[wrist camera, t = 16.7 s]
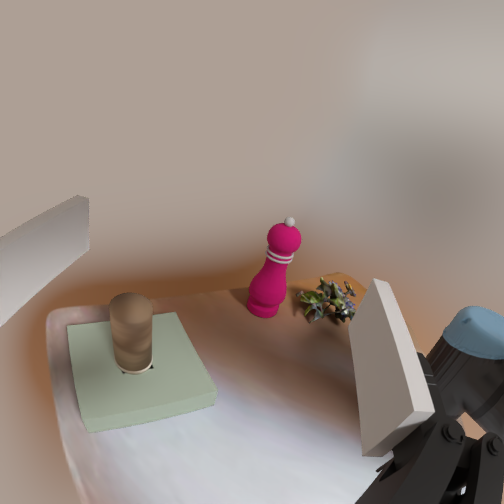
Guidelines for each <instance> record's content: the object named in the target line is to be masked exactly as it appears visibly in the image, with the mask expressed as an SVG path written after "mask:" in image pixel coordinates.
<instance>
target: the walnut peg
mask: <svg viewBox="0 0 504 504" xmlns="http://www.w3.org/2000/svg"><path fill="white" fill-rule="evenodd" d="M109 314H110V324H111V333H112V342H113V349H114V361H115V364H116V366H117V367H118V368H119V369H120V370H121V371H123V372H124V373H127V374H132V375H137V374H142V373H144V372H146V371H147V370H149V369H150V367H151V366H152V363H153V355H152V318H153V306H152V303H151V301H150V300H149V299H148V298H146V297H145V296H143V295H140V294H137V293H123V294H120V295H117V296H116V297H114V298H113V299H112V300H111V302H110V304H109Z"/></svg>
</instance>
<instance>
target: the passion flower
mask: <svg viewBox="0 0 504 504" xmlns="http://www.w3.org/2000/svg"><path fill="white" fill-rule="evenodd" d="M331 281H332V283H331V282H330V281H329V284H327V283H326V282H325V281H324V280H323V278H322V277H321V278H320V282H321V285H319V286H318V287H317V289H318V290H321V291H323V292H324V294H323V297H322V293H320V294H317V293H316V292H314V291H310V292H307V293H305V294H303V293H304V292H303V291H300V292H298V293H297V294H296V296H297V297H298V296H299V294H301V295H302V296H301V302H305V303H309V304H311V305H310V306H309V307H308V308H307V309H306V310H305V313H304V316H306V314H307V313H308V312H309V311H310V310H311V309H316V313H315V315H314V318H313V320H312V321H310V322H309V323H311V322H313V321H315V320H317V319H319V318H324V316H326V315H330V314H334V313H335V316H336V318H339V319H340V320H341V321H342V322H343V323H344V322H345V318H346V317H349V318H350V320H352V318H353V317H354V315H355V312H356V310H355V309H354V308H353V307H352V305H355V304H353V303H352V302H351V301H350V300H348V299H349V298H347V297H346V295H347V294H349V293H350V295H351V296H354V297H356V294H355V292H354V290H353V288H352V287H351V286H350V285H349V284H348V283H347V282H346V281H345V282H344V283H345V286H346V289H347V290H348V291H347V292H346V293H343V292H342V289H340V287H338V286H337V283H336V284H335V283H334V282H333V280H331ZM328 296H330V299H328ZM324 302H329V303H330V305H333V306H335V307H336V310H335V312H332V313H328V314H324V311H325V310H326V309H327V308H328V307H329V306H330V305H329V306H328V307H326V308H325V309H323V308H322V304H323V303H324ZM316 306H319V307H320V308H321V312H320V311H319V310H318V309H317V307H316Z"/></svg>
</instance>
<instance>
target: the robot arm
mask: <svg viewBox="0 0 504 504" xmlns="http://www.w3.org/2000/svg"><path fill="white" fill-rule="evenodd" d="M89 249H90V247H89V198H86V197H82V196H78V195H77V196H75V197H73V198H71V199H69V200H67V201H65V202H63V203H61V204H59V205H57V206H55V207H53V208H51V209H49V210H47V211H46V212H44V213H42V214H40V215H38V216H36V217H35V218H33V219H31V220H29V221H28V222H26V223H24V224H22V225H21V226H19V227H17V228H15V229H14V230H12V231H10V232H9V233H7V234H6V235H4V236H2V237H1V238H0V327H1V326H2V325H3V324H5V322H6V321H8V320H9V319H10V318H11V317H12V316H13V315H14V314H15V313H16V312H17V311H18V310H19V309H20V308H21V307H22V306H23V305H25V304H26V303H27V302H28V301H29V300H30V299H31V298H32V297H33V296H34V295H36V294H37V292H39V291H40V290H41V289H42V288H43V287H45V286H46V285H47V284H48V283H49V282H50V281H52V280H53V279H54V278H55V277H56V276H57V275H59V274H60V273H61V272H62V271H63V270H65V269H66V268H67V267H68V266H70V265H71V264H72V263H73V262H74V261H76V260H77V259H78V258H79V257H81V256H82V255H83V254H85V253H86V252H87V251H88V250H89ZM348 331H349V337H350V343H351V350H352V357H353V364H354V372H355V380H356V388H357V397H358V407H359V417H360V429H361V442H362V456H370V457H383V456H384V455H385V454H387V453H388V452H389V451H390V450H393V453H394V457H393V458H392V459H391V460H389V461H388V462H387V463H385V464H384V465H382V466H381V467H379V468H378V469H377V470H376V472H379V471H381V470H382V469H383V470H382V471H381V472H380V474H379V475H378V476H377V478H376V479H375V480H374V481H373V483H372V484H371V485H370V486H369V487H368V489H367V490H366V491H365V492H364V493H363V495H362V496H361V497H360V498H359V499H358V500H357V502H356V503H355V504H501V500H502V493H503V483H504V317H503V316H501V315H499V314H498V313H496V312H494V311H492V310H489V309H486V308H483V307H479V306H468V307H465V308H463V309H462V310H460V311H459V312H458V313H457V315H456V316H455V317H454V319H453V320H452V322H451V323H450V324H449V325H448V326H447V327H446V328H445V329H444V331H443V334H442V336H441V337H440V339H439V340H438V342H437V343H436V344H435V346H434V347H433V349H432V350H431V351H430V353H429V354H428V355H427V356H426V358H425V357H424V356H423V354H422V353H418V352H416V350H415V347H414V345H413V342H412V339H411V337H410V334H409V331H408V329H407V326H406V324H405V321H404V319H403V316H402V314H401V311H400V309H399V306H398V304H397V302H396V299H395V297H394V295H393V292H392V290H391V288H390V285H389V283H388V282H385V281H381V280H378V279H374V278H373V280H372V282H371V284H370V286H369V288H368V290H367V292H366V294H365V296H364V298H363V300H362V301H361V303H360V305H359V307H358V309H357V311H356V313H355V315H354V317H353V318H352V320H351V322H350V324H349V326H348ZM464 412H466V413H467V414H468V415H469V416H470V417H472V419H473V420H474V421H475V422H476V423H478V425H479V426H480V427H482V429H483V430H484V431H485V432H486V434H485V435H483V436H482V437H481V438H480V439H479V440H476V439H472V438H470V437H467V436H465V432H464V430H463V428H462V426H461V425H460V424H459V423H458V422H457V421H456V420H457V419H458V418H459V417H460V416H461V415H462V414H463V413H464ZM465 486H466V490H465V493H464V494H462V495H461V489H462V488H463V487H465Z"/></svg>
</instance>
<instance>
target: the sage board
mask: <svg viewBox="0 0 504 504" xmlns="http://www.w3.org/2000/svg"><path fill="white" fill-rule="evenodd" d="M67 332H68V342H69V350H70V358H71V365H72V372H73V378H74V383H75V389H76V394H77V399H78V404H79V409H80V413H81V417H82V420H83V423H84V425H85V427H86V429H87V431H88V432H89V433H93V432H100V431H106V430H112V429H118V428H123V427H129V426H134V425H139V424H143V423H148V422H152V421H157V420H161V419H165V418H169V417H173V416H177V415H181V414H185V413H188V412H192V411H196V410H199V409H203V408H206V407H209V406H213V405H214V403H215V400H216V396H217V393H218V389H217V387H216V386H215V384H214V382H213V381H212V379H211V377H210V375H209V374H208V372H207V370H206V368H205V367H204V365H203V363H202V361H201V359H200V358H199V356H198V354H197V352H196V350H195V349H194V347H193V345H192V343H191V341H190V339H189V337H188V336H187V334H186V332H185V330H184V328H183V326H182V324H181V322H180V320H179V318H178V316H177V314H176V312H171V313H164V314H157V315H153V318H152V355H153V363H152V366H151V367H150V369H149V370H147V371H146V372H144V373H142V374H137V375H132V374H127V373H125V374H123V373H122V371H121V370H120V369H119V368H118V367H117V366H116V364H115V361H114V349H113V342H112V333H111V324H110V321H105V322H97V323H88V324H79V325H70V326H67Z"/></svg>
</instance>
